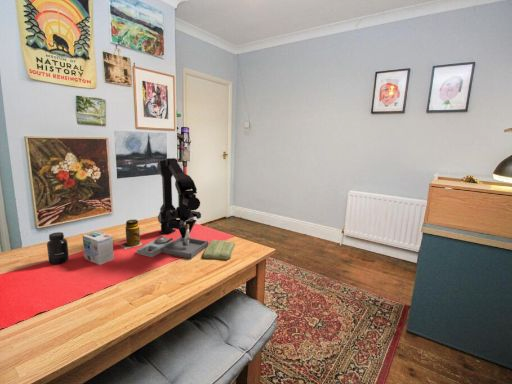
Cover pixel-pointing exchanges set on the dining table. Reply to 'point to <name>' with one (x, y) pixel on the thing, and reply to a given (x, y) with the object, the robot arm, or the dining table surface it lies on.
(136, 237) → the condiment
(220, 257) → the washcloth
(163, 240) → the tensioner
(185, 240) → the lock pin
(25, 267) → the dining table surface
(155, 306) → the dining table surface
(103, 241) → the light bulb box
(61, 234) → the supplement bottle
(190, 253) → the tray
